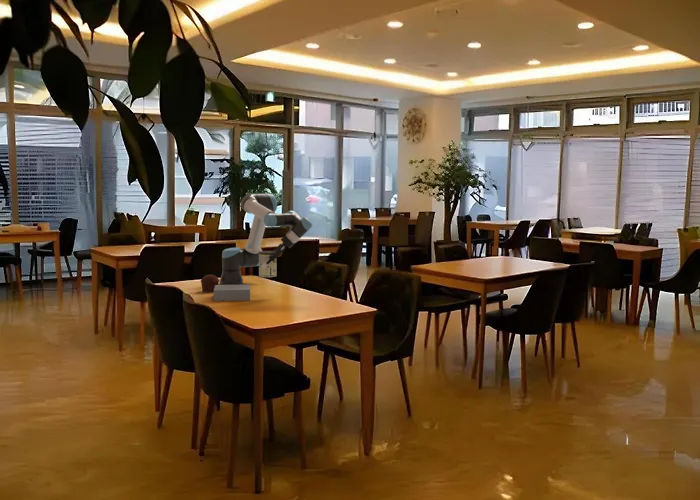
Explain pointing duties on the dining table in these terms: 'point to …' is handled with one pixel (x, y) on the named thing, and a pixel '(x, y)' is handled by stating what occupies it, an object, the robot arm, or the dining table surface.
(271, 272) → the coffee can
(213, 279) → the muffin
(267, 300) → the dining table surface
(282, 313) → the dining table surface
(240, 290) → the grey block
